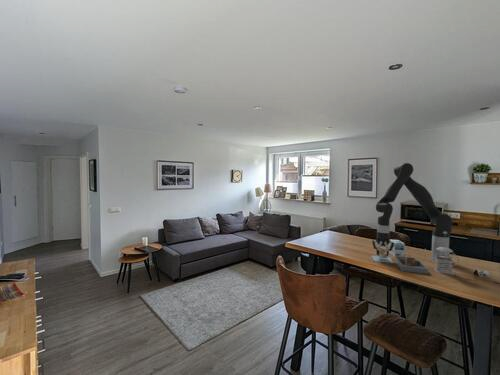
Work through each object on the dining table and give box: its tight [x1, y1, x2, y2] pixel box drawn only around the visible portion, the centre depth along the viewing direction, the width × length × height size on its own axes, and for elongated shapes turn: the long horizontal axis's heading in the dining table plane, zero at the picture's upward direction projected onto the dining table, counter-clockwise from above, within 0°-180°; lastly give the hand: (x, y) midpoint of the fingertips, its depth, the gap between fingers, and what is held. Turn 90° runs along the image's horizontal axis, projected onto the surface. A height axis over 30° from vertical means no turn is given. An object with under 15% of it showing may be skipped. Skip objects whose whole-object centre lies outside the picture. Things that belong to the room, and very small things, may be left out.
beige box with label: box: [379, 246, 388, 258], centre depth 165 cm, size 4×4×6 cm
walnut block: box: [404, 254, 416, 267], centre depth 153 cm, size 4×4×6 cm
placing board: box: [371, 255, 394, 264], centre depth 165 cm, size 12×12×1 cm
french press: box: [434, 232, 460, 276], centre depth 143 cm, size 10×12×25 cm
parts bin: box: [395, 257, 429, 275], centre depth 149 cm, size 14×16×4 cm
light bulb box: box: [389, 238, 406, 258], centre depth 175 cm, size 11×7×11 cm, turn 169°
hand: (382, 255), depth 165 cm, fingers closed on beige box with label, 4 cm apart
